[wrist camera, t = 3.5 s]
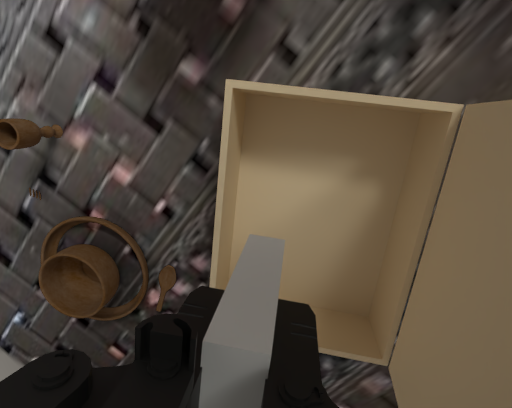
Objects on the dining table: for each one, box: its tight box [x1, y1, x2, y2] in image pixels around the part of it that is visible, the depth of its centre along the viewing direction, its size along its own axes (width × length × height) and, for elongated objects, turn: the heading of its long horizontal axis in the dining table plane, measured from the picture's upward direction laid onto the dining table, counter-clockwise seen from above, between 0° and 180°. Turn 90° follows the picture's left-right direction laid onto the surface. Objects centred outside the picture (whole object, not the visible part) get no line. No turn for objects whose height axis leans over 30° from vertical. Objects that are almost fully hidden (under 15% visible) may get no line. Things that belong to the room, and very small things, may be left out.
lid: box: [389, 100, 512, 408], centre depth 14 cm, size 20×15×2 cm
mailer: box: [209, 79, 464, 366], centre depth 25 cm, size 20×15×6 cm
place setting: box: [0, 119, 176, 321], centre depth 30 cm, size 18×20×6 cm
